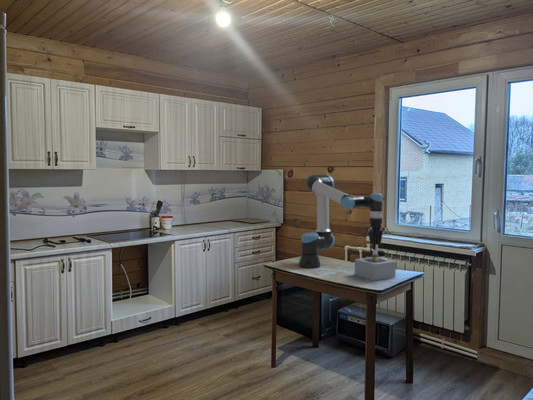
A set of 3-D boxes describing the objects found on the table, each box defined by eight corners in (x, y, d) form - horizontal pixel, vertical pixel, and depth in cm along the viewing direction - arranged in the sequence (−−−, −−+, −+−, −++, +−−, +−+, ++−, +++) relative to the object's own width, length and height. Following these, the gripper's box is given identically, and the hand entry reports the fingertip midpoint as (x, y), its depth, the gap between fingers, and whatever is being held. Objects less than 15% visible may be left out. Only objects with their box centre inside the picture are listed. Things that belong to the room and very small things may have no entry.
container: (387, 270, 287) (388, 251, 286) (377, 271, 284) (378, 251, 284) (381, 267, 294) (381, 249, 293) (371, 268, 292) (371, 249, 291)
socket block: (354, 274, 274) (354, 258, 273) (374, 271, 283) (374, 256, 283) (375, 280, 259) (375, 263, 258) (395, 277, 268) (395, 260, 267)
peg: (370, 268, 271) (370, 254, 271) (374, 267, 273) (375, 253, 273) (374, 269, 268) (375, 255, 267) (379, 268, 270) (379, 254, 269)
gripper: (372, 218, 262) (372, 256, 263) (387, 217, 269) (386, 254, 270) (364, 217, 268) (363, 254, 270) (378, 216, 275) (378, 252, 277)
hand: (375, 254), depth 270 cm, fingers closed
